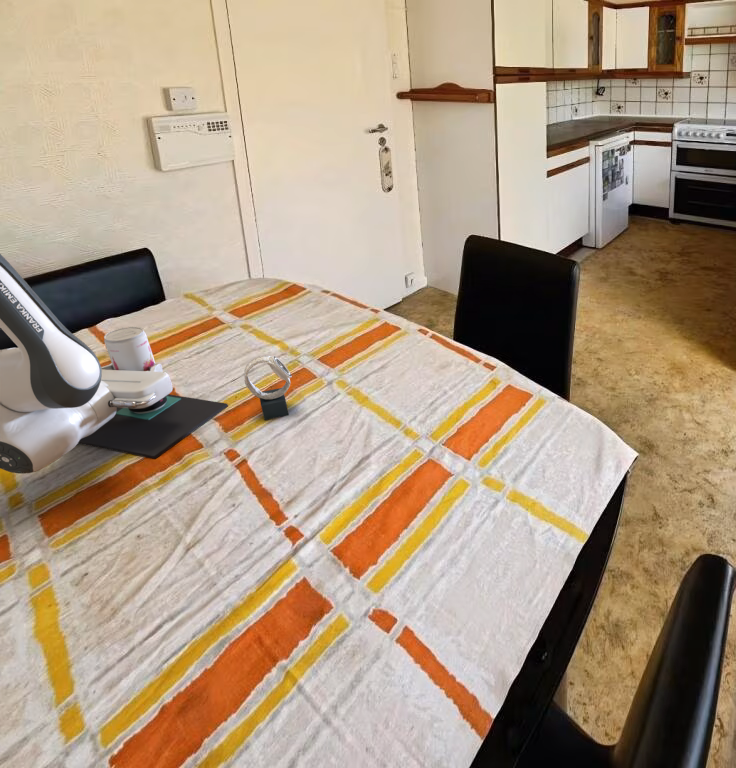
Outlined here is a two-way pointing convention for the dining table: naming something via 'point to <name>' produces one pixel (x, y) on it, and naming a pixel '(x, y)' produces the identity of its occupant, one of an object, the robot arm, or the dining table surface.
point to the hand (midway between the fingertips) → (138, 366)
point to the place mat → (154, 428)
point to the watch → (271, 399)
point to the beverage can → (131, 355)
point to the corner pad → (151, 414)
